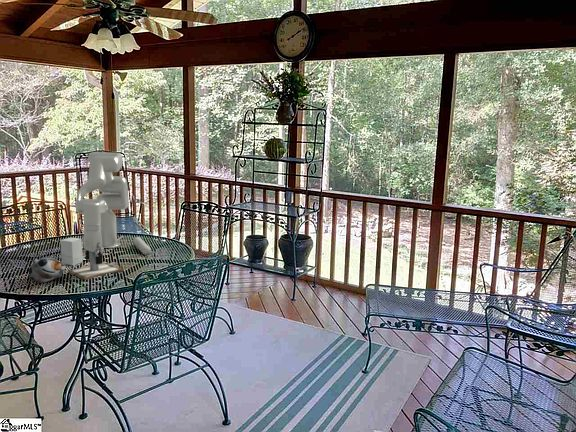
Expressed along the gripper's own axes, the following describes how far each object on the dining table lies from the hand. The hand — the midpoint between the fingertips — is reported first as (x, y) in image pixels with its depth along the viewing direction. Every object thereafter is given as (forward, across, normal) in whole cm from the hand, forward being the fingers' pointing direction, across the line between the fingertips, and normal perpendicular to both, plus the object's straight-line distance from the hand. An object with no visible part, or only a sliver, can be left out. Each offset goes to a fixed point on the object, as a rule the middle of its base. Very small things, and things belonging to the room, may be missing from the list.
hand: (94, 261), depth 237 cm
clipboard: (+5, 0, +1) cm, 6 cm away
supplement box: (+6, -22, 0) cm, 23 cm away
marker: (+4, 0, 0) cm, 4 cm away
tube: (+6, -20, +41) cm, 46 cm away
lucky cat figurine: (+6, -5, -20) cm, 21 cm away
